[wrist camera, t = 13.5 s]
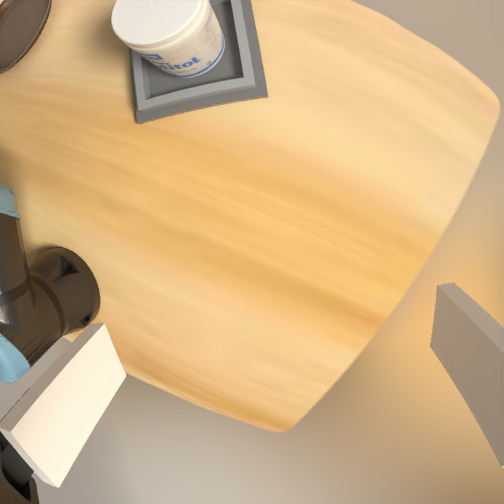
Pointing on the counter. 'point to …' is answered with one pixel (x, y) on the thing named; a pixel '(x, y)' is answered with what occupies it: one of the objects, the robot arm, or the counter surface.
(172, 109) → the board
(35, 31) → the plant saucer
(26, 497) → the robot arm
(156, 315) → the counter surface
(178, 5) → the supplement tub
